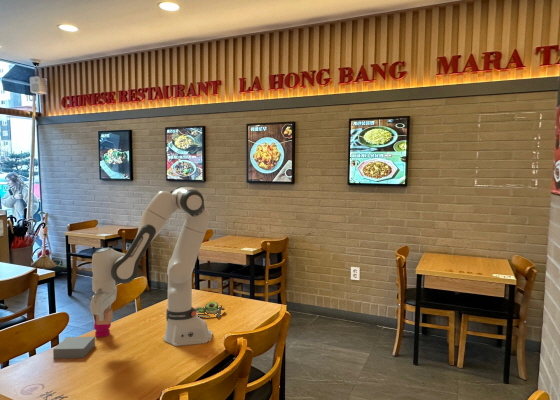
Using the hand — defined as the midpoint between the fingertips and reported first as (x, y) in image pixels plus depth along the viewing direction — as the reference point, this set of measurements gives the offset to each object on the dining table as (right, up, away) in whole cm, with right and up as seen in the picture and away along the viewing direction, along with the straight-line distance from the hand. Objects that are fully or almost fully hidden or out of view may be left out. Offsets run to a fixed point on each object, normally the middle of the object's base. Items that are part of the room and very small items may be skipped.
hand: (104, 317), depth 166 cm
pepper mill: (-9, -14, +18) cm, 25 cm away
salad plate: (+36, -13, +51) cm, 64 cm away
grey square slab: (-13, -15, 0) cm, 19 cm away
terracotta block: (0, -2, 0) cm, 2 cm away
